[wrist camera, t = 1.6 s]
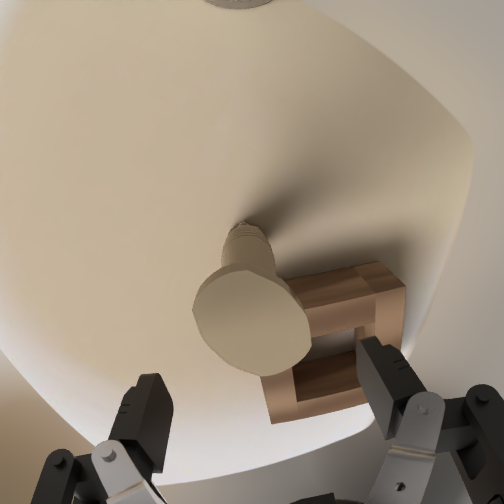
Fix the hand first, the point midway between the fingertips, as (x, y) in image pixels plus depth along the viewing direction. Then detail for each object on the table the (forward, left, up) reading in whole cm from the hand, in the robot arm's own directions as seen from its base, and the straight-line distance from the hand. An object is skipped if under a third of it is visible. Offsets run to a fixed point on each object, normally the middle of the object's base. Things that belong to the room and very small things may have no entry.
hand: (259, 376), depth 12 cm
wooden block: (+12, +6, -18) cm, 23 cm away
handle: (0, 0, -19) cm, 19 cm away
